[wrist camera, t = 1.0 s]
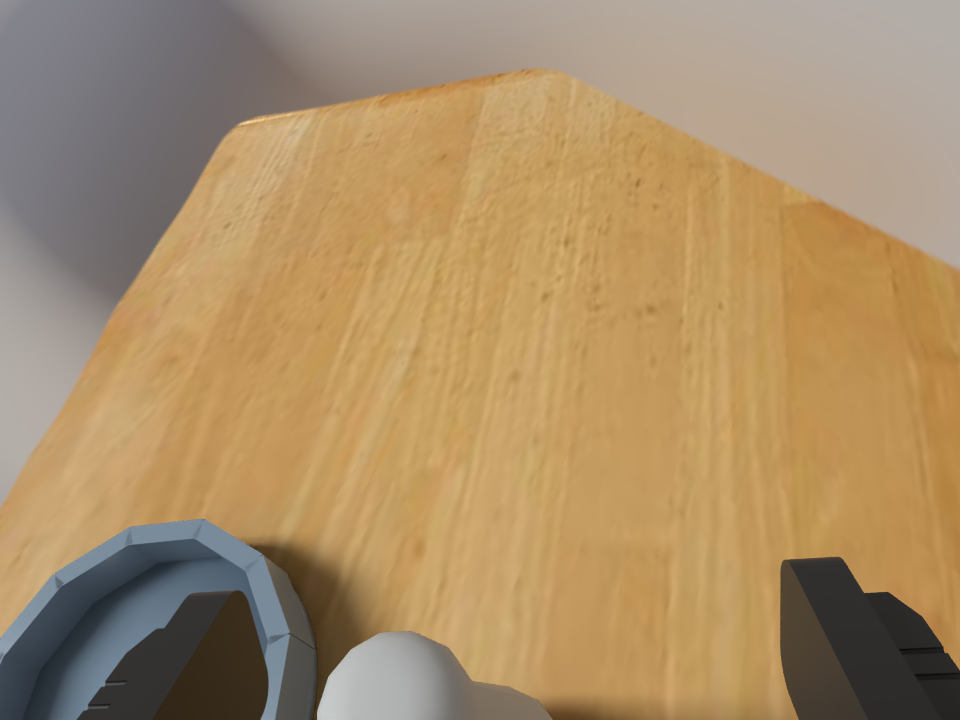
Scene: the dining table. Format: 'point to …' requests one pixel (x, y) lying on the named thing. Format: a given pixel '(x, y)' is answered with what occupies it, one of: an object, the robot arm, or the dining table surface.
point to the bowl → (149, 619)
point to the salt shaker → (416, 685)
